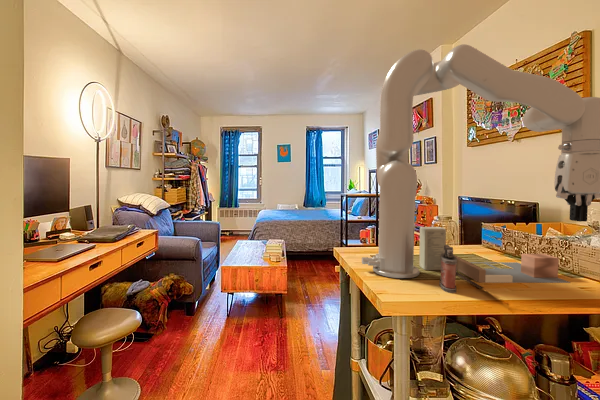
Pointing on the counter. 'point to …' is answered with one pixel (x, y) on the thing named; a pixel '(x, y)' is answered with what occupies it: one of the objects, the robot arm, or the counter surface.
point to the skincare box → (431, 247)
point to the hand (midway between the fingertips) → (578, 220)
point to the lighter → (448, 270)
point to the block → (539, 265)
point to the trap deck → (498, 274)
